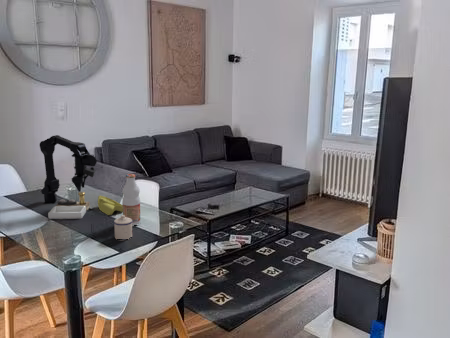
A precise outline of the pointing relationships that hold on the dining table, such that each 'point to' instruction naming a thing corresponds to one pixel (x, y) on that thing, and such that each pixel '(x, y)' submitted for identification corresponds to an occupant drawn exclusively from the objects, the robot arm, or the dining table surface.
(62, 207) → the tray
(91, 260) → the dining table surface
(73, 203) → the plate
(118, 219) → the teacup with lid
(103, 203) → the plastic component
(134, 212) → the fruit juice
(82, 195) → the lock pin
